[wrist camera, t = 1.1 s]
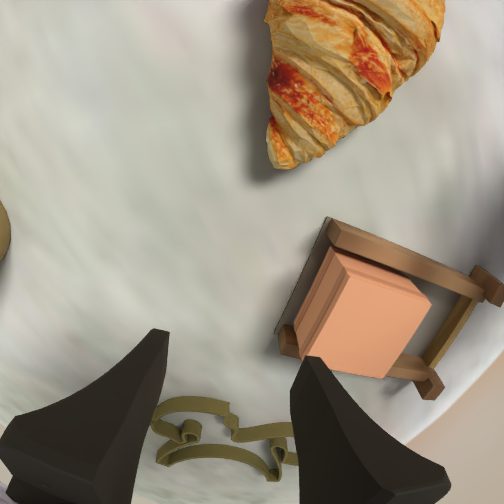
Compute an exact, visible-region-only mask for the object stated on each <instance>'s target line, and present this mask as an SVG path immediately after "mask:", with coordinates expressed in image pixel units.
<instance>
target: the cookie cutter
mask: <svg viewBox="0 0 504 504" xmlns="http://www.w3.org/2000/svg"><path fill="white" fill-rule="evenodd" d="M229 405H230V402H226V401H222V400H217V399H212V398H206V397H197V396H181V397H175V398H171V399H168V400H166V401H164V402H163V403H161V404H160V405H159V406H156V408H155V411H154V414H153V416H152V419H151V422H150V425H151V428H152V430H153V431H154V432H155V433H157V434H159V435H161V436H165V437H168V438H170V439H171V440H170V441H168V442H167V443H166V444H164V445H163V446H162V447H161V448H160V449H159V450H158V453H157V457H156V463H159V464H162V465H164V466H167V467H169V466H171V465H173V464H175V463H178V462H181V461H184V460H189V459H195V458H225V459H231V460H236V461H240V462H243V463H246V464H249V465H251V466H253V467H255V468H256V469H258V470H259V471H261V472H262V473H263V474H264V476H265V477H266V479H267V481H273V482H279V481H280V479H281V477H282V470H281V461H282V463H284V464H289V465H297V466H299V465H298V457H297V453H293V452H288V450H287V441H286V438H285V437H294V433H293V427H292V422H280V423H272V424H266V425H260V426H255V427H249V428H238V427H239V418H238V416H236V415H234V414H232V413H230V412H229ZM183 411H189V412H201V413H208V414H214V415H218V416H223V417H224V419H223V423H224V425H225V426H227V427H228V428H231V440H232V441H233V442H237V443H243V442H251V441H257V440H263V439H269V438H270V451H271V453H272V455H273V457H274V459H275V461H276V463H277V465H278V468H277V470H268V467H267V465H266V463H265V462H264V461H263V460H262V459H261V458H260V457H259V456H257V455H255V454H254V453H252V452H250V451H247V450H244V449H241V448H238V447H234V446H228V445H219V444H203V445H194V446H189V447H185V448H182V449H179V450H177V451H175V452H173V453H171V452H172V451H174V450H176V449H178V448H181V447H183V446H186V445H189V444H193V443H198V442H199V441H200V436H201V428H202V425H201V424H200V423H199V422H198V421H196V420H191V419H188V420H185V421H184V425H183V430H181V429H179V428H177V427H176V426H174V425H173V424H171V423H167V422H164V421H162V420H160V419H159V418H161V417H162V416H164V415H166V414H169V413H174V412H183ZM276 447H280V448H282V449H281V459H280V455H279V452H278V450H277V448H276ZM169 453H171V454H169Z"/></svg>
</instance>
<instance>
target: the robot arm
mask: <svg viewBox="0 0 504 504" xmlns="http://www.w3.org/2000/svg"><path fill="white" fill-rule="evenodd" d="M169 334H170V332H168V331H163V330H159V329H155V328H154V329H152V330H150V332H149V333H148V334H147V335H146V336H145V337H144V338H143V340H142V341H141V342H140V343H139V344H138V345H137V346H136V347H135V348H134V349H133V350H132V351H131V352H130V353H129V354H127V355H126V356H125V357H124V358H123V359H122V360H121V361H120V362H119V363H117V364H116V365H115V366H114V367H113V368H111V369H110V370H109V371H108V372H106V373H105V374H104V375H102V376H101V377H100V378H98V379H97V380H96V381H94V382H92V383H91V384H89V385H88V386H86V387H85V388H83V389H81V390H80V391H78V392H76V393H74V394H73V395H71V396H69V397H67V398H65V399H63V400H60V401H58V402H56V403H53V404H51V405H49V406H47V407H44V408H41V409H39V410H35V411H32V412H29V413H25V414H22V415H18V416H15V417H14V418H13V420H12V421H11V422H10V424H9V425H8V426H7V428H6V430H5V431H4V433H3V435H2V437H1V438H0V459H1V460H2V462H3V463H4V464H5V466H6V467H7V468H8V470H9V471H10V472H11V474H12V475H13V477H12V479H11V481H10V483H9V485H8V486H7V485H5V484H4V483H2V482H0V504H131V500H132V494H133V488H134V483H135V478H136V473H137V468H138V463H139V459H140V454H141V449H142V446H143V442H144V439H145V436H146V433H147V430H148V427H149V425H150V422H151V419H152V416H153V414H154V411H155V408H156V405H157V403H158V400H159V397H160V394H161V390H162V386H163V382H164V378H165V374H166V367H167V355H168V344H169ZM290 414H291V420H292V427H293V433H294V439H295V445H296V451H297V457H298V465H299V487H300V504H435V503H436V502H437V501H439V500H440V499H441V498H443V497H444V496H445V495H446V494H447V493H448V491H449V490H450V488H451V482H450V480H449V478H448V476H447V473H446V471H445V468H444V467H443V466H441V465H439V464H437V463H434V462H432V461H430V460H428V459H426V458H424V457H422V456H420V455H419V454H417V453H415V452H414V451H412V450H410V449H409V448H407V447H406V446H404V445H403V444H401V443H400V442H399V441H397V440H396V439H395V438H393V437H392V436H391V435H389V434H388V433H387V432H386V431H384V430H383V429H382V428H381V427H380V426H379V425H378V424H376V423H375V422H374V421H373V420H372V419H371V418H370V417H369V416H368V415H367V414H366V413H365V412H364V411H363V410H362V409H361V408H360V407H359V405H358V404H357V403H356V402H355V401H354V400H353V399H352V397H351V396H350V395H349V394H348V393H347V391H346V390H345V389H344V388H343V386H342V385H341V384H340V383H339V381H338V380H337V379H336V377H335V376H334V375H333V373H332V372H331V371H330V369H329V368H328V367H327V365H326V364H325V363H324V361H323V360H322V359H321V358H320V357H316V356H308V355H305V357H304V359H303V362H302V364H301V367H300V369H299V371H298V374H297V376H296V378H295V381H294V383H293V385H292V387H291V390H290Z"/></svg>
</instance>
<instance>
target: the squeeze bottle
mask: <svg viewBox="0 0 504 504" xmlns="http://www.w3.org/2000/svg"><path fill="white" fill-rule="evenodd" d="M9 242H10V223H9V220H8V216H7V213H6V210H5V208H4V207H3V205H2V203H1V201H0V261H1V260H2V258H3V256H4V255H5V253H6V251H7V250H8V246H9Z"/></svg>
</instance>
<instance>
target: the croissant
mask: <svg viewBox="0 0 504 504" xmlns="http://www.w3.org/2000/svg"><path fill="white" fill-rule="evenodd" d="M444 13H445V0H270V1H269V3H268V10H267V13H266V16H265V19H264V22H265V23H267V24H268V25H269V27H270V33H271V41H272V52H273V54H272V61H271V65H270V69H269V73H268V77H267V85H268V93H269V95H270V110H271V113H272V114H273V115H272V116H271V118H270V120H269V123H268V127H267V136H266V142H267V144H268V147H267V150H268V155H269V159H270V161H271V163H272V165H273V166H274V168H276V169H281V170H287V169H292V168H294V167H296V166H298V165H299V164H300V163H301V162H309V161H311V160H312V158H313V157H317V158H320V157H321V156H322V155H323V154H325V152H326V151H327V150H329V149H330V148H332V147H334V146H335V144H336V142H337V140H339V139H340V138H343V137H345V136H346V135H347V134H348V133H349V132H350V131H352V130H353V129H355V128H356V127H357V126H364V125H366V124H368V123H370V122H372V121H374V120H375V119H376V118H377V117H378V115H379V114H380V113H382V112H383V111H384V110H385V109H386V107H387V106H388V104H389V102H390V101H391V99H392V94H393V92H394V90H395V89H397V88H398V87H399V86H401V85H402V84H403V83H404V82H405V81H408V79H409V77H411V76H413V75H415V74H416V73H417V72H418V71H419V70H420V69H421V68H422V67H423V66H424V65H425V64H426V62H427V61H428V60H429V58H430V56H431V55H432V53H433V52H434V50H435V46H436V43H437V41H438V42H439V40H440V36H441V29H442V27H443V22H444Z"/></svg>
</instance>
